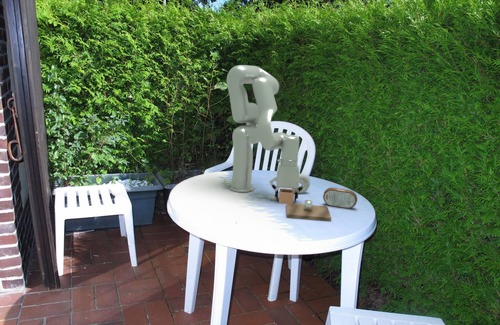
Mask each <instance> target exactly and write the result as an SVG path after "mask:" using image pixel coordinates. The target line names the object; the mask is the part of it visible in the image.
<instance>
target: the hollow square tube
mask: <svg viewBox="0 0 500 325" xmlns="http://www.w3.org/2000/svg"><path fill="white" fill-rule="evenodd" d="M294 196H295V192H294V189H292V188H282V187H280V188H279V191H278V204H286V203H291V204H294Z"/></svg>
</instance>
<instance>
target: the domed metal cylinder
mask: <svg viewBox="0 0 500 325" xmlns="http://www.w3.org/2000/svg"><path fill="white" fill-rule="evenodd" d="M304 205H305V206H304V210H305V211H308V212H310V211H312V205H313V200H311V199H306V200H304Z"/></svg>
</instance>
